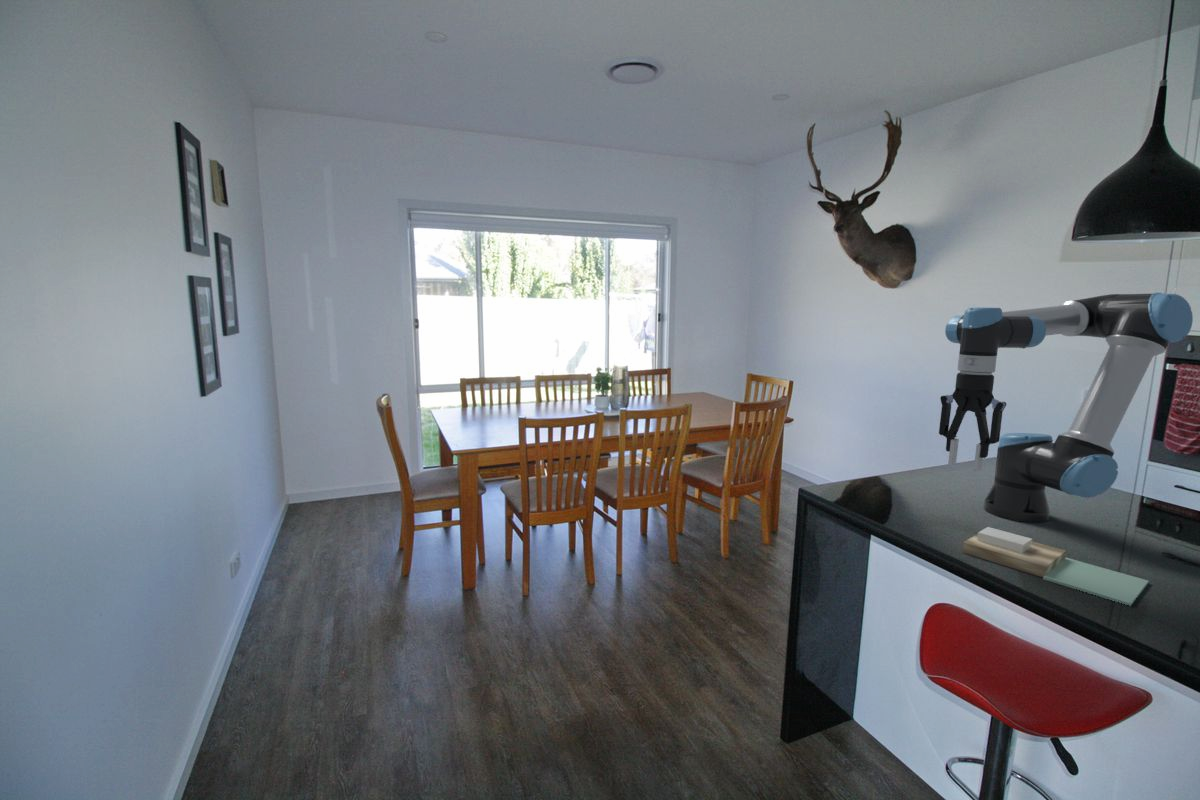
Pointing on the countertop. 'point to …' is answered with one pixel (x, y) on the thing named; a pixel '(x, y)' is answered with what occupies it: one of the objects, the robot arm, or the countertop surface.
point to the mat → (1097, 581)
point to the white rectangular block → (1004, 539)
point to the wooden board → (1017, 556)
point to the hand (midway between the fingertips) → (964, 467)
